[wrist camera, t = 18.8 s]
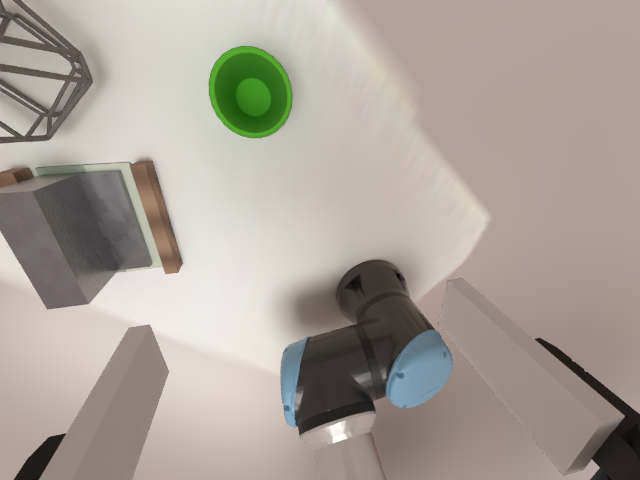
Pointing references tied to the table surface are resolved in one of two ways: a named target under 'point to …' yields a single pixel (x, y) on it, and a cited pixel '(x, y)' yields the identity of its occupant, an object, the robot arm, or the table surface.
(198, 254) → the table surface
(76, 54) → the geometric lantern
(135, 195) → the pad
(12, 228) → the angle bracket
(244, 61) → the cup
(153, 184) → the bay walls
